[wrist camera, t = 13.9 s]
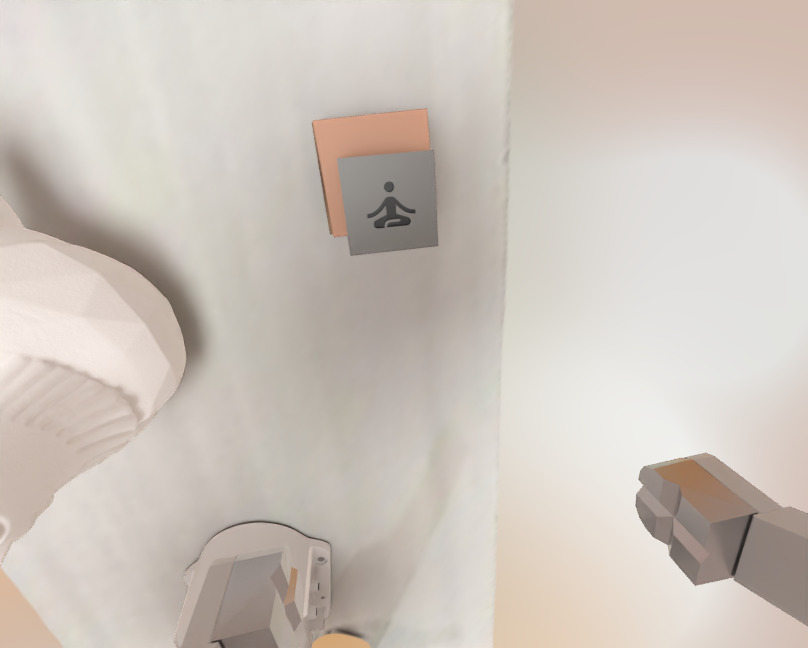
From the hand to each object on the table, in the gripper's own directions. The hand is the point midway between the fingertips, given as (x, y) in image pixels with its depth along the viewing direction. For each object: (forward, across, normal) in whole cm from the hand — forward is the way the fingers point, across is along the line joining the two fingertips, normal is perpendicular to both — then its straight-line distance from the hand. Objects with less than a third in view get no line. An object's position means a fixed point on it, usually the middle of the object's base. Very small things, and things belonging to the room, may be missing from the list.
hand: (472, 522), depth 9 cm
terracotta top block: (+25, +1, +8) cm, 26 cm away
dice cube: (+20, +1, +6) cm, 21 cm away
